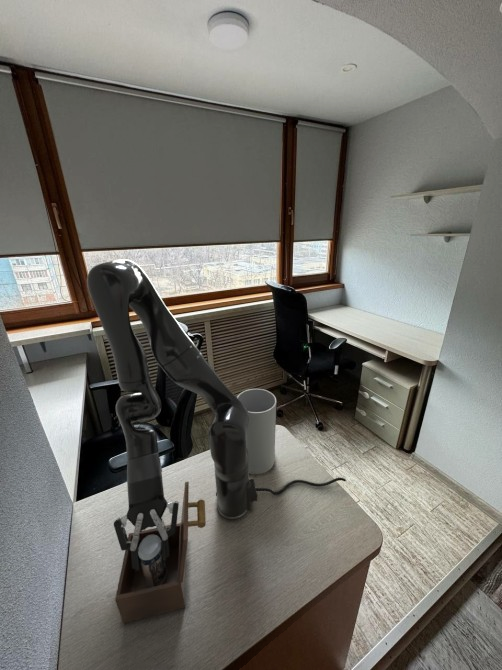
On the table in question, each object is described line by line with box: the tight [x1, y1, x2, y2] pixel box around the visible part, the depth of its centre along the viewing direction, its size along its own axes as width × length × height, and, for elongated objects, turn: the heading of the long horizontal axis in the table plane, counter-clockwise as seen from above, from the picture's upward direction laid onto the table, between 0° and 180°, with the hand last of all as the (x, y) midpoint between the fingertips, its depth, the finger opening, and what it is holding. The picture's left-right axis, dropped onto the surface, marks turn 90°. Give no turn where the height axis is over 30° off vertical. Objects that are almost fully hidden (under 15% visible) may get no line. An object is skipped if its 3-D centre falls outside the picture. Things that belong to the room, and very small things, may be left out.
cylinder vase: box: [236, 388, 277, 475], centre depth 88 cm, size 12×12×25 cm
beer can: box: [138, 535, 167, 588], centre depth 59 cm, size 5×5×12 cm
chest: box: [114, 522, 187, 624], centre depth 60 cm, size 12×12×9 cm
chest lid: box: [179, 481, 207, 583], centre depth 58 cm, size 13×12×4 cm
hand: (151, 564), depth 57 cm, fingers closed on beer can, 4 cm apart
